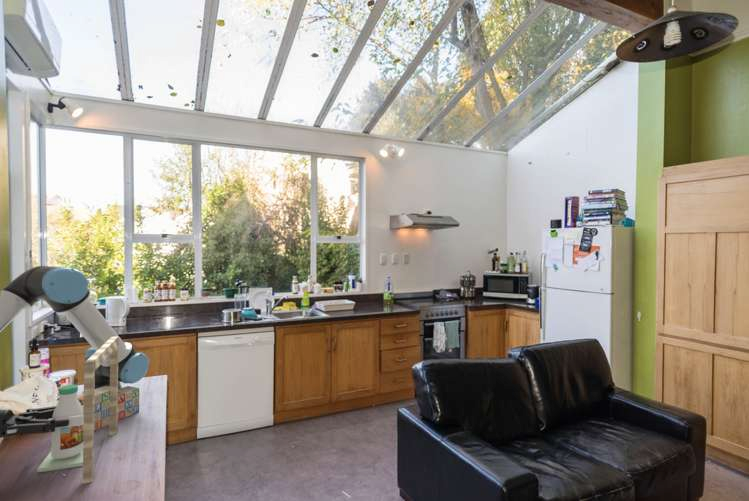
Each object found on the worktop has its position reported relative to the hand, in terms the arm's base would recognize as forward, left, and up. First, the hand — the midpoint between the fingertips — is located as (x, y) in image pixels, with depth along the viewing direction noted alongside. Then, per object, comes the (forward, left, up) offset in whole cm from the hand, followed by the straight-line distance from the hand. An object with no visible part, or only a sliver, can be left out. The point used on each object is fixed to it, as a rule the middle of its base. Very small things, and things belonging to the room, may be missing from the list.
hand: (87, 414), depth 125 cm
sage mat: (+1, -5, -13) cm, 14 cm away
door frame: (-1, +4, -13) cm, 14 cm away
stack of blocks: (-26, -7, -13) cm, 30 cm away
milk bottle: (+1, -5, -11) cm, 12 cm away
